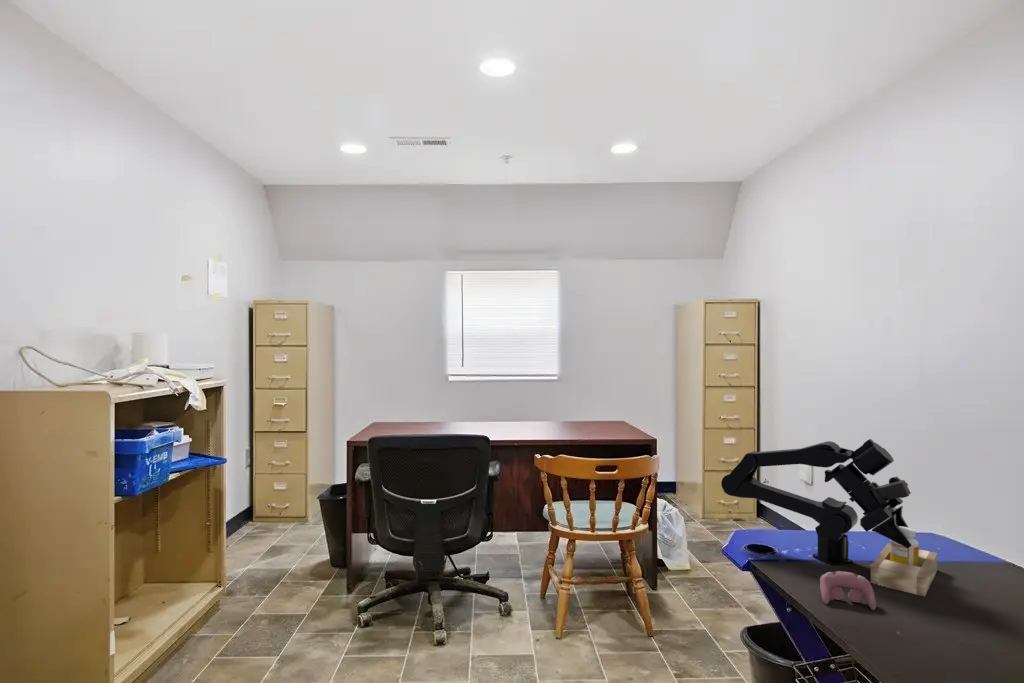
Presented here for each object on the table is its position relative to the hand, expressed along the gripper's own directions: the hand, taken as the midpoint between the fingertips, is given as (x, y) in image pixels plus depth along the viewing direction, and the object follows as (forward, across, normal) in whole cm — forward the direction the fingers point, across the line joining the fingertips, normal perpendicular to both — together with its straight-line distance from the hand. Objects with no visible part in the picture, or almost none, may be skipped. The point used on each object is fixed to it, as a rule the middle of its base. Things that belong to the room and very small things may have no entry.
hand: (911, 543), depth 133 cm
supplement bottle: (+4, 0, +6) cm, 7 cm away
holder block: (+5, 0, +6) cm, 8 cm away
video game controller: (0, -24, +11) cm, 27 cm away
